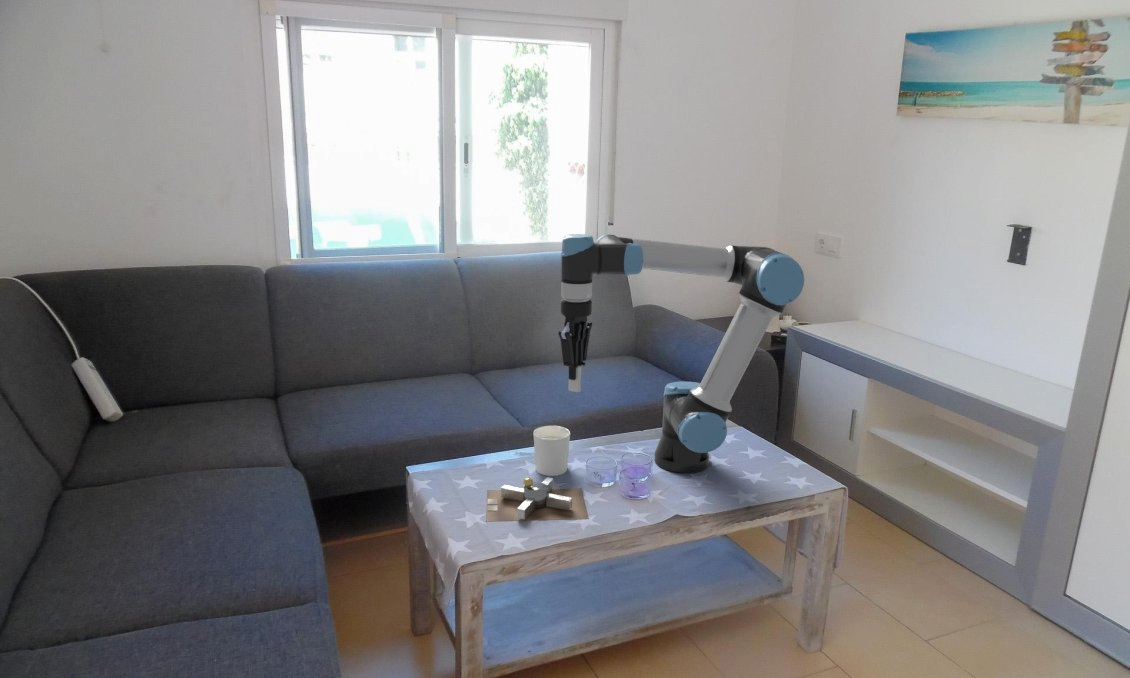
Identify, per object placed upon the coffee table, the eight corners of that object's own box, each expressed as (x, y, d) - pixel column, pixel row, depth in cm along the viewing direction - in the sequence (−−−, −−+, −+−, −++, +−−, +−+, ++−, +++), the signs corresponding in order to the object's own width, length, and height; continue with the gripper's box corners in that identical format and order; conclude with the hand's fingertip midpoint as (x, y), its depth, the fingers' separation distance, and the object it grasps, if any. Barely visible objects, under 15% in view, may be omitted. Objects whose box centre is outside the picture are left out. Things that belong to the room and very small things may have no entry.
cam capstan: (517, 481, 200) (517, 458, 199) (583, 493, 194) (584, 470, 192) (486, 512, 184) (486, 487, 182) (556, 527, 178) (557, 501, 176)
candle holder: (565, 483, 204) (566, 441, 200) (529, 479, 205) (529, 437, 202) (572, 468, 213) (573, 427, 210) (537, 464, 215) (538, 424, 212)
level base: (581, 493, 198) (581, 487, 198) (588, 524, 183) (588, 518, 182) (487, 495, 196) (487, 489, 196) (486, 527, 181) (486, 520, 180)
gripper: (576, 292, 196) (574, 381, 202) (549, 301, 185) (548, 395, 191) (602, 295, 192) (599, 386, 199) (576, 305, 181) (574, 400, 188)
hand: (574, 390), depth 195 cm, fingers closed
